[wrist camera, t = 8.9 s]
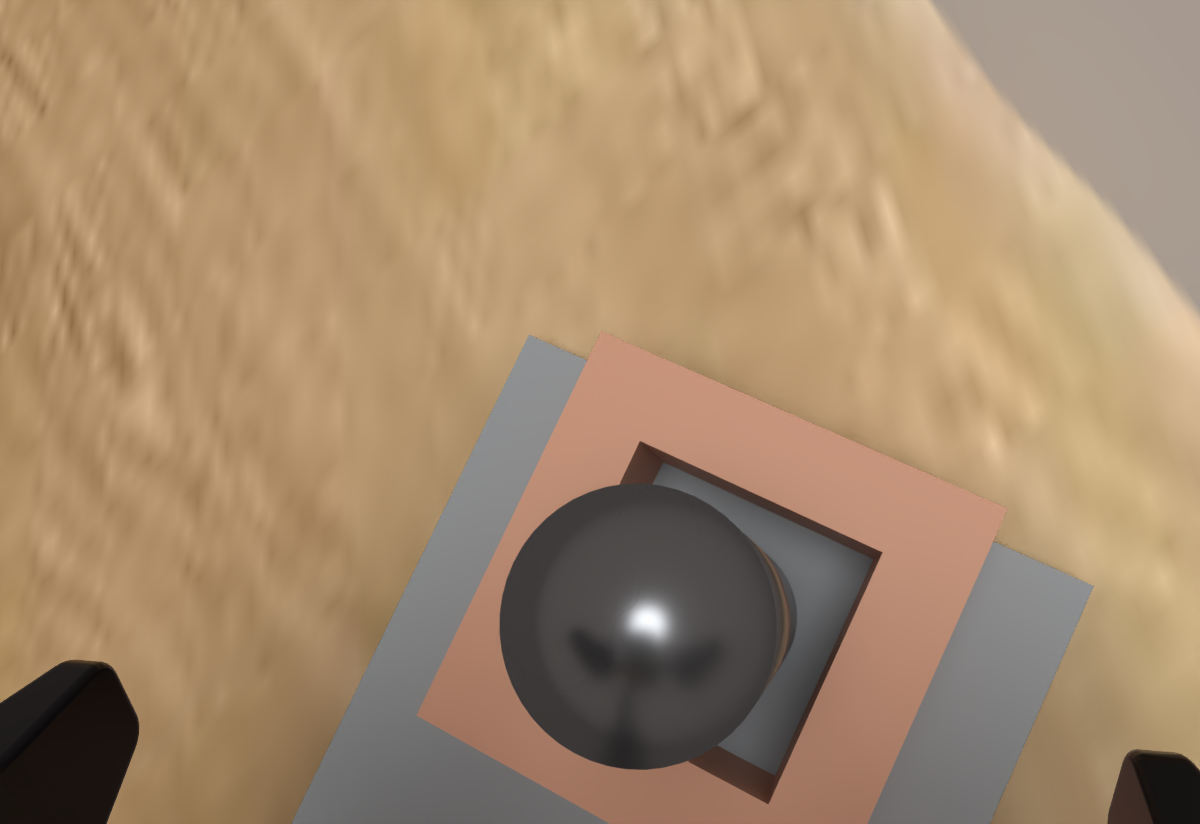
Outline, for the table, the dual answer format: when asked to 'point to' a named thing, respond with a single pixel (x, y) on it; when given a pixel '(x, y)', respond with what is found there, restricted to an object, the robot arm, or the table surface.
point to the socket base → (802, 683)
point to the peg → (642, 625)
